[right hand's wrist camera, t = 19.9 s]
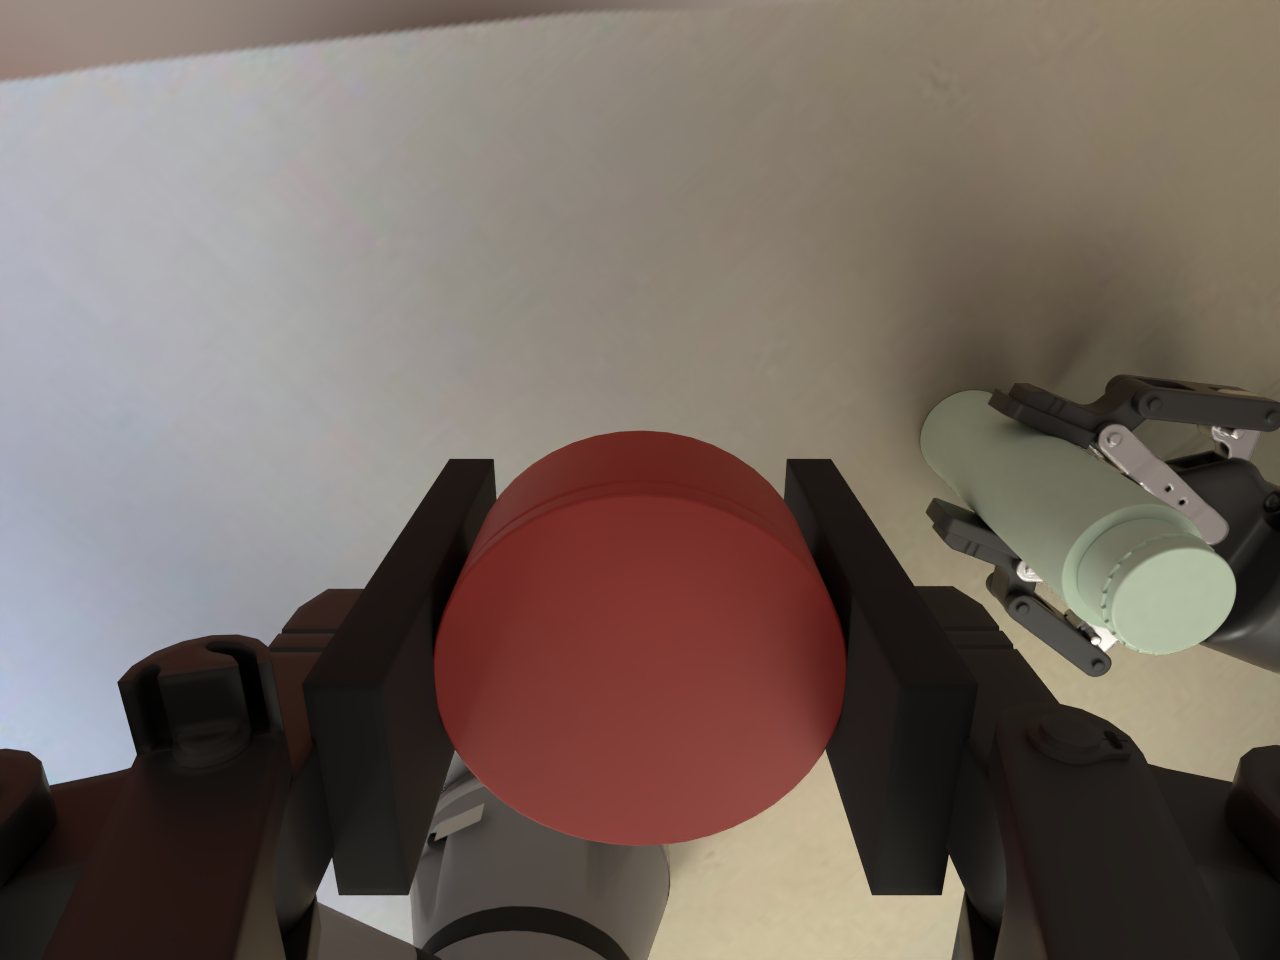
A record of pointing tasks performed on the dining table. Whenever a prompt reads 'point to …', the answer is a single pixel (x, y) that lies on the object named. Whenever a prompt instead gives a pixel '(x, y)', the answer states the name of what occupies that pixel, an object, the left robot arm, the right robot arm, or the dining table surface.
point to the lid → (640, 643)
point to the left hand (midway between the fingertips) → (967, 459)
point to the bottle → (1082, 527)
